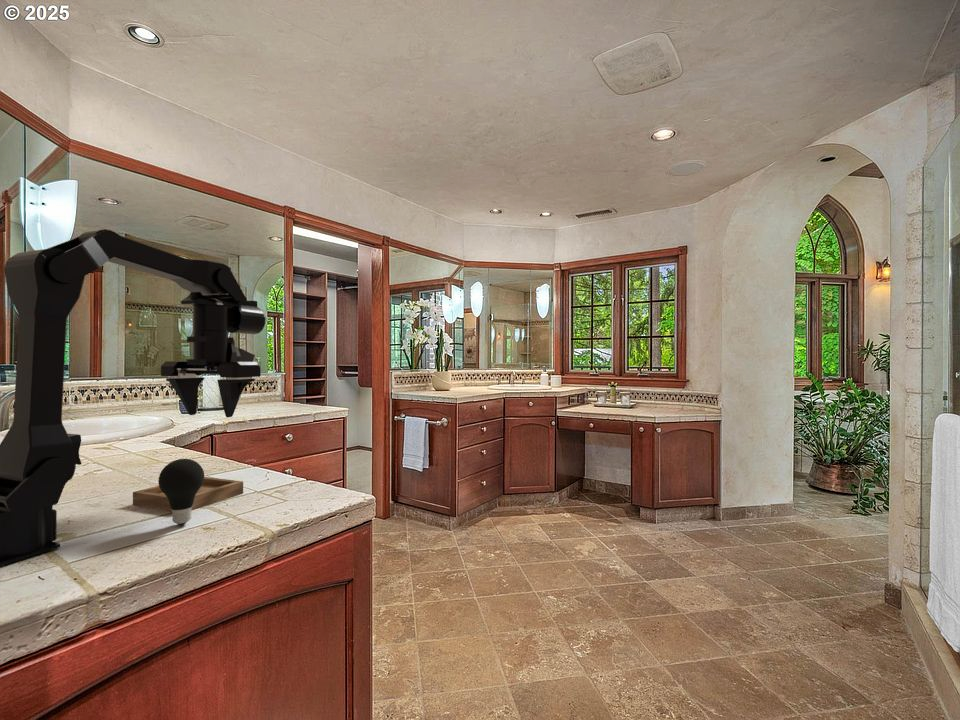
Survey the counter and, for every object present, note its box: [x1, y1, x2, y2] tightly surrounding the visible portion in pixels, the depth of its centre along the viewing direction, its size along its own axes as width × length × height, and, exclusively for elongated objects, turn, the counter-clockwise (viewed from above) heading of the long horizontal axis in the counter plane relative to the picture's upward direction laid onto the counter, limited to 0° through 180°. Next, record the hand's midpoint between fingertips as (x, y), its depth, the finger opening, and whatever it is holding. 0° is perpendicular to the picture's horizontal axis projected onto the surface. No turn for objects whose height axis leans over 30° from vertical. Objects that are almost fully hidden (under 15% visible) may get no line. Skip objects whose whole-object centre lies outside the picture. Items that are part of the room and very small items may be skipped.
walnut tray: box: [132, 476, 244, 512], centre depth 84 cm, size 12×12×2 cm
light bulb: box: [158, 458, 205, 526], centre depth 71 cm, size 6×6×10 cm
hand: (210, 416), depth 87 cm, fingers open, 9 cm apart
